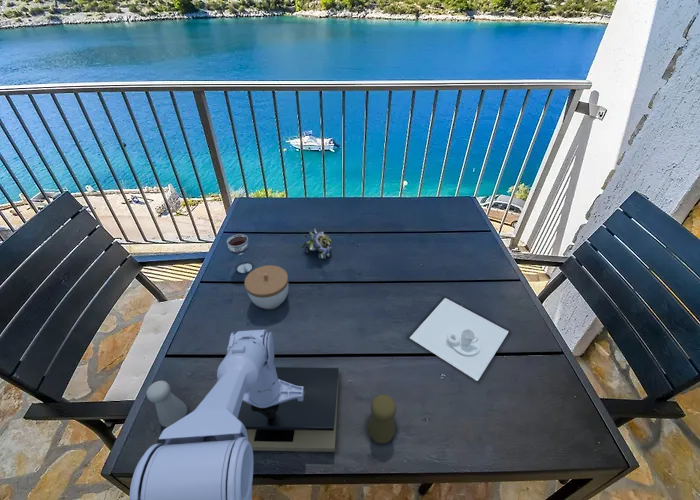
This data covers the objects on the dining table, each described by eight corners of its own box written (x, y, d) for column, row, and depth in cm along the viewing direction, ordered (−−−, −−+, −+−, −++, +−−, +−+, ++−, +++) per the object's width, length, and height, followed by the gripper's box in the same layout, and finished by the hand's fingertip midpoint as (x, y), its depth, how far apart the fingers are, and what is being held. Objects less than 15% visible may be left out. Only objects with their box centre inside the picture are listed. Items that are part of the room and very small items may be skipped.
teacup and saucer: (442, 343, 95) (444, 333, 92) (456, 325, 99) (458, 316, 97) (472, 361, 90) (475, 352, 88) (485, 342, 95) (489, 332, 92)
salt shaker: (184, 432, 77) (163, 402, 69) (158, 431, 77) (135, 401, 69) (193, 406, 81) (175, 375, 73) (169, 406, 82) (149, 375, 73)
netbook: (334, 451, 73) (334, 448, 72) (212, 449, 74) (210, 445, 73) (338, 374, 88) (338, 370, 86) (236, 373, 88) (234, 369, 87)
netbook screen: (333, 431, 70) (333, 427, 69) (204, 429, 70) (204, 425, 70) (338, 370, 86) (338, 367, 86) (234, 369, 87) (234, 366, 87)
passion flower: (327, 267, 128) (329, 259, 116) (298, 262, 127) (297, 253, 116) (332, 238, 131) (335, 228, 120) (304, 233, 130) (303, 222, 119)
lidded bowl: (296, 308, 105) (292, 282, 98) (254, 321, 101) (246, 294, 94) (285, 281, 114) (281, 256, 107) (246, 292, 110) (239, 266, 103)
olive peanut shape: (372, 446, 74) (373, 421, 67) (364, 418, 79) (365, 393, 72) (398, 439, 75) (403, 414, 68) (389, 412, 80) (393, 386, 73)
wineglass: (243, 259, 123) (235, 232, 116) (258, 264, 121) (252, 237, 113) (230, 271, 118) (222, 243, 111) (246, 276, 116) (238, 248, 109)
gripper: (303, 359, 67) (309, 396, 75) (228, 358, 67) (242, 395, 75) (298, 394, 61) (305, 429, 70) (216, 393, 61) (233, 428, 70)
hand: (272, 414), depth 72 cm, fingers closed, pressing on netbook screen
